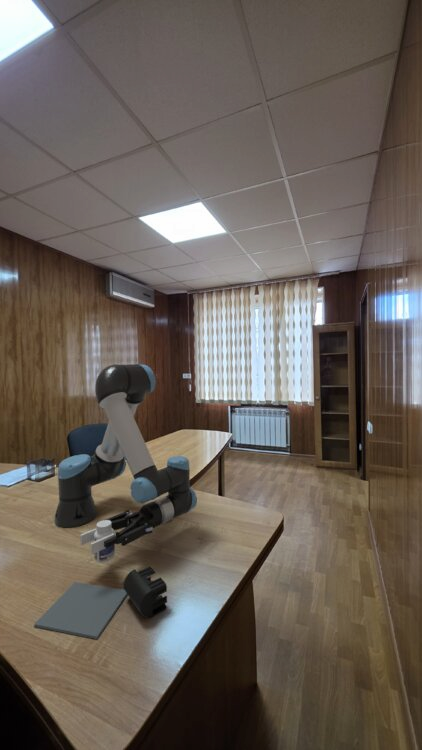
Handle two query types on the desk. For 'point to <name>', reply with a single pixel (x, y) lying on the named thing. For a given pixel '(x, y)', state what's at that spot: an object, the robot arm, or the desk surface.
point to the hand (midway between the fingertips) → (86, 544)
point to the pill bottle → (102, 531)
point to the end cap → (146, 592)
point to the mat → (83, 610)
